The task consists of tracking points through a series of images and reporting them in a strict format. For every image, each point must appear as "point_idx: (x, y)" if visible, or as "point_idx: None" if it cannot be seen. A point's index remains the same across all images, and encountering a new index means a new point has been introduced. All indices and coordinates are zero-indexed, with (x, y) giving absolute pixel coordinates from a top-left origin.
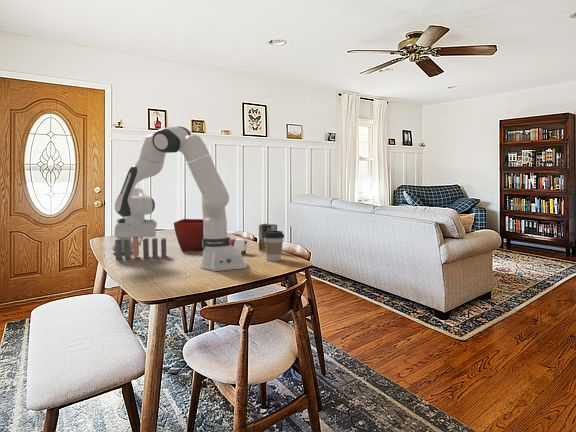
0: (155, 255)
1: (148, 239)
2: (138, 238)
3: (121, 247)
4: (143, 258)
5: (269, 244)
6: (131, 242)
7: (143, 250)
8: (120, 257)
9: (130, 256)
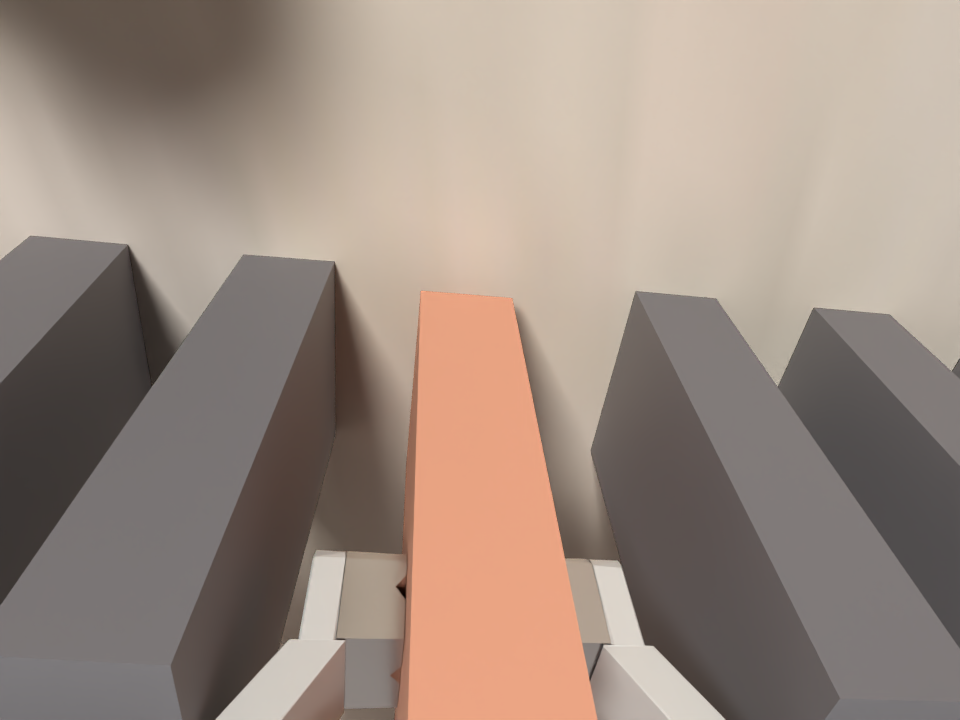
0: None
1: (954, 652)
2: (582, 706)
3: (3, 416)
4: (591, 450)
5: None
6: (333, 710)
7: (630, 580)
8: (140, 390)
9: (330, 326)
